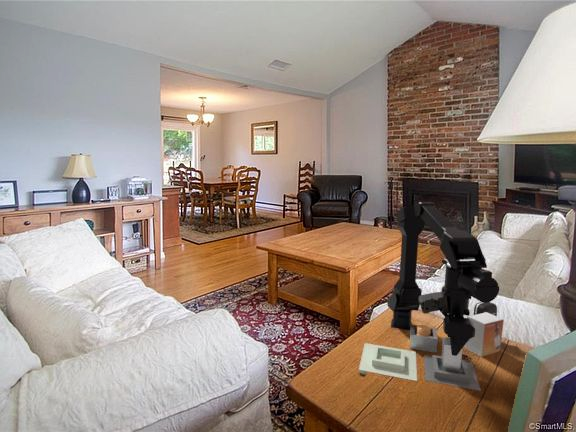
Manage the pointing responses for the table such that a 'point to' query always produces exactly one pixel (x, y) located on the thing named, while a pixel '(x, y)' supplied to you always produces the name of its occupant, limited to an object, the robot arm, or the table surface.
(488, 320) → the small box
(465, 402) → the table surface
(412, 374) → the pale green socket
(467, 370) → the charcoal socket
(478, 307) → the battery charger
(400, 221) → the robot arm
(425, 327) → the tan egg
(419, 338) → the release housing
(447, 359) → the steel peg
